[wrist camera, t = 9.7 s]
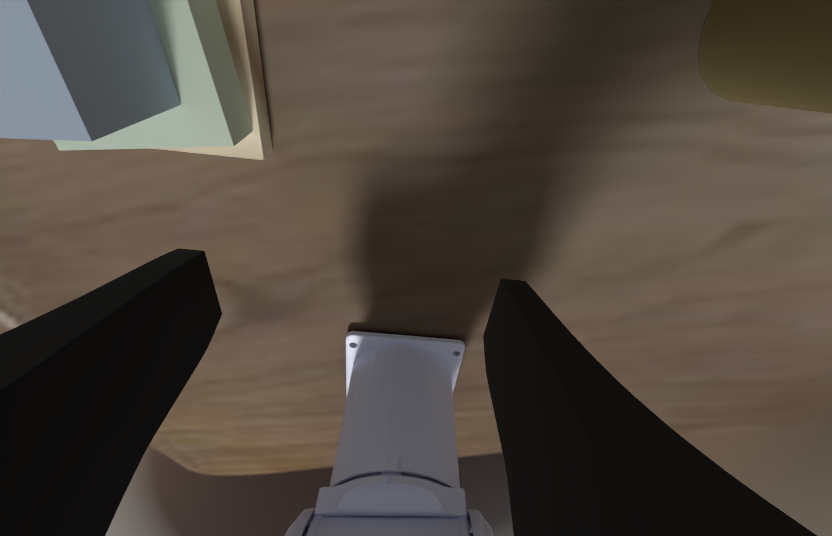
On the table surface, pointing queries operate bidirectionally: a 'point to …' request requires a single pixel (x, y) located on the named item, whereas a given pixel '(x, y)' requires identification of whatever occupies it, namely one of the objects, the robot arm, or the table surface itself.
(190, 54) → the green block
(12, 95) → the blue cube
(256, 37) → the birch slab
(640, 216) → the table surface
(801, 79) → the olive tall rounded piece
